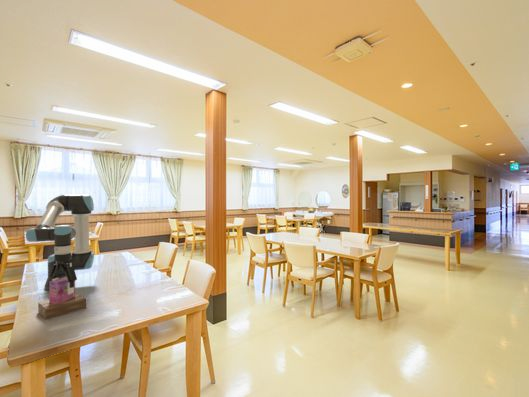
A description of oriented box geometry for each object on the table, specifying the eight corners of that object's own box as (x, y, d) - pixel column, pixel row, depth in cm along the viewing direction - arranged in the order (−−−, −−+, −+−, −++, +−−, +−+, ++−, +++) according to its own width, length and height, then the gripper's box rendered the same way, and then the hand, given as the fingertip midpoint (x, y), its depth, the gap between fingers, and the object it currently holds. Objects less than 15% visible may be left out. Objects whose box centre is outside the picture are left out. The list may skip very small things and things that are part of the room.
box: (57, 304, 140) (57, 282, 140) (48, 303, 142) (49, 281, 142) (75, 297, 150) (75, 276, 150) (67, 296, 152) (67, 275, 152)
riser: (38, 313, 143) (38, 302, 143) (77, 303, 157) (77, 292, 157) (46, 320, 135) (46, 308, 135) (86, 309, 149) (86, 298, 149)
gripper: (41, 252, 147) (41, 290, 147) (70, 256, 138) (69, 297, 138) (56, 250, 154) (56, 286, 154) (84, 253, 145) (84, 292, 145)
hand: (62, 291), depth 146 cm, fingers open, 13 cm apart
